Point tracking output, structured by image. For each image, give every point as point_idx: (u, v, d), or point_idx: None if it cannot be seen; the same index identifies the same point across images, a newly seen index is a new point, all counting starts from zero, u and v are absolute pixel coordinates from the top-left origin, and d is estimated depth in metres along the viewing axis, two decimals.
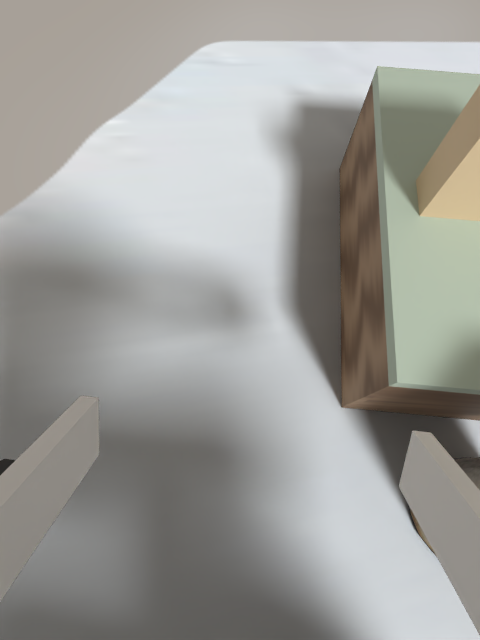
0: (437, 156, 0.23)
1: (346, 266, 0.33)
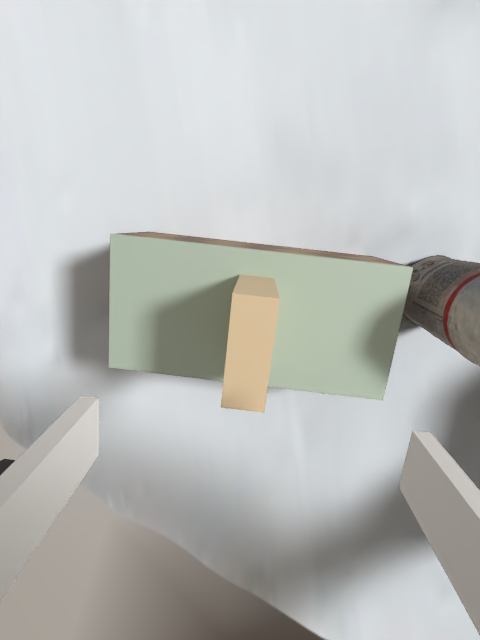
0: None
1: None
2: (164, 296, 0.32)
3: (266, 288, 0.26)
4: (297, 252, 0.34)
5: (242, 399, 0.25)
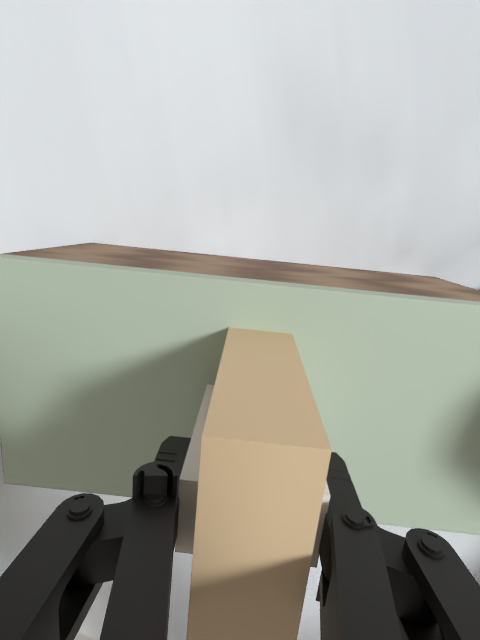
0: None
1: None
2: (92, 366, 0.18)
3: (285, 385, 0.11)
4: (329, 280, 0.20)
5: None
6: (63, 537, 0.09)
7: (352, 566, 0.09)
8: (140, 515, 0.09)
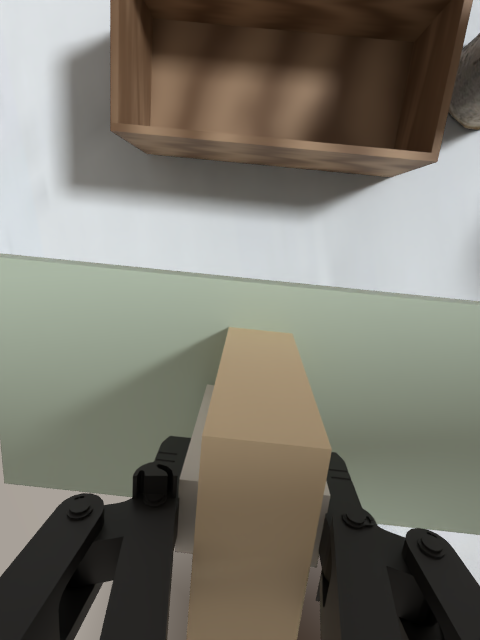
0: None
1: (273, 162, 0.36)
2: (92, 366, 0.18)
3: (285, 385, 0.11)
4: None
5: None
6: (63, 537, 0.09)
7: (352, 566, 0.09)
8: (140, 515, 0.09)
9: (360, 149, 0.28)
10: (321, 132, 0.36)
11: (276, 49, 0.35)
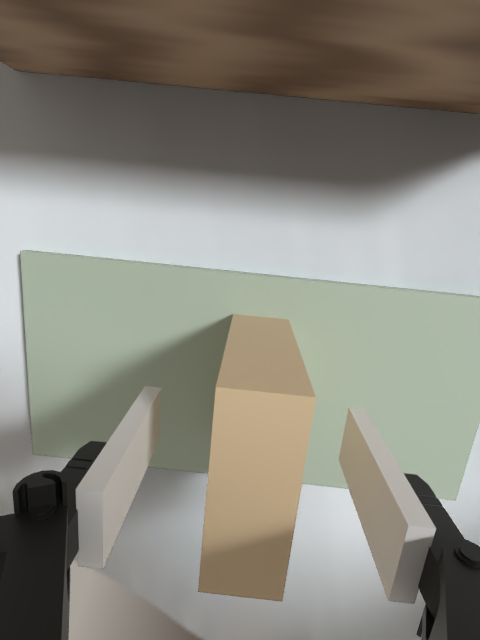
0: None
1: (299, 79, 0.15)
2: (113, 348, 0.20)
3: (281, 356, 0.14)
4: None
5: (240, 579, 0.13)
6: None
7: (465, 604, 0.08)
8: (25, 531, 0.09)
9: None
10: None
11: None
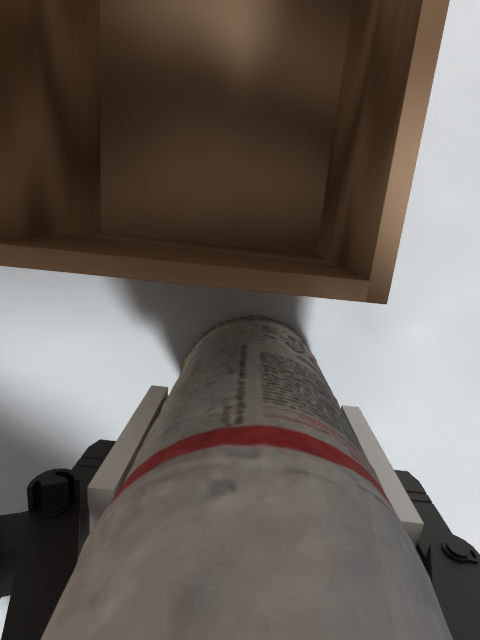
0: None
1: None
2: None
3: None
4: None
5: None
6: None
7: (452, 599, 0.08)
8: (39, 528, 0.09)
9: None
10: (158, 74, 0.17)
11: None
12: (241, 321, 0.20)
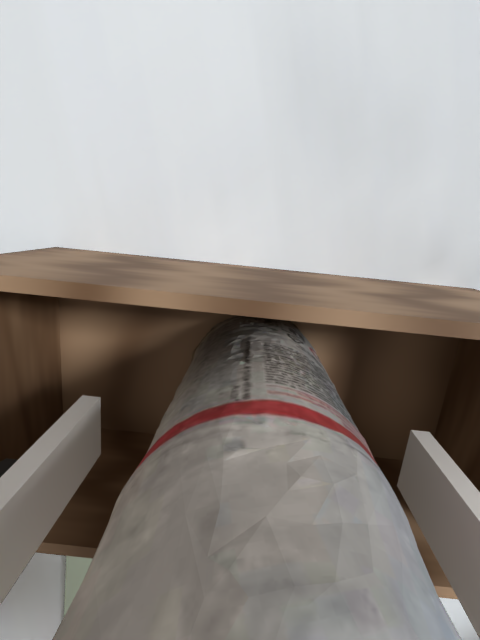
0: None
1: None
2: None
3: None
4: (353, 300, 0.15)
5: None
6: None
7: None
8: None
9: None
10: None
11: None
12: (245, 316, 0.22)
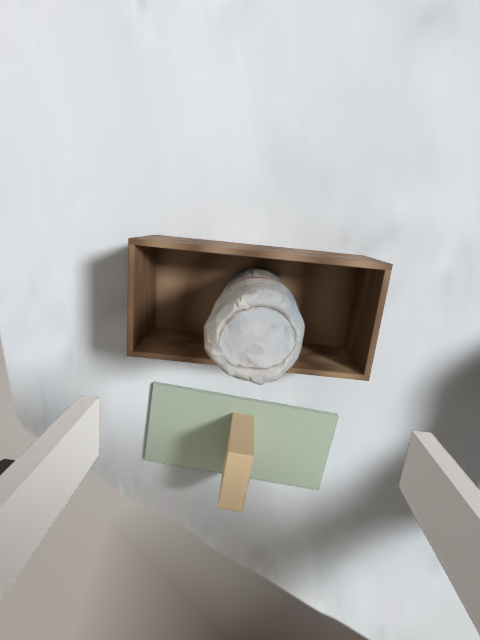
0: None
1: None
2: (184, 421, 0.51)
3: (247, 439, 0.45)
4: (293, 253, 0.37)
5: (230, 504, 0.44)
6: None
7: None
8: None
9: (312, 371, 0.38)
10: None
11: (253, 263, 0.45)
12: (250, 268, 0.44)
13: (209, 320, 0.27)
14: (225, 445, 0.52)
